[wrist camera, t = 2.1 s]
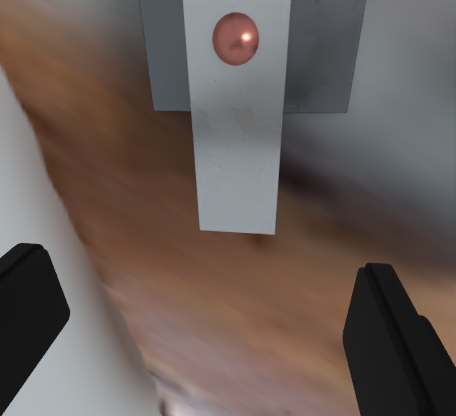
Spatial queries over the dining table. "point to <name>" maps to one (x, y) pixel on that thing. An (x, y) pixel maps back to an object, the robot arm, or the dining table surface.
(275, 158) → the white post with dot
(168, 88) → the collar rail
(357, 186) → the dining table surface
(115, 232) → the dining table surface
